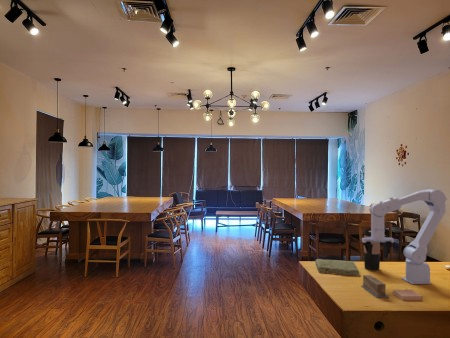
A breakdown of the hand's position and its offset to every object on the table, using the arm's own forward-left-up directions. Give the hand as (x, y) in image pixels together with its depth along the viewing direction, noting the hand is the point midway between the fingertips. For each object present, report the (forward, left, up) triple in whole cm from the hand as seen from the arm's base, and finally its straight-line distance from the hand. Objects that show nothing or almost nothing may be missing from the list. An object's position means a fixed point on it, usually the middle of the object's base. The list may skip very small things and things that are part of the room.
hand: (377, 257), depth 153 cm
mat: (+10, +15, -10) cm, 21 cm away
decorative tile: (+13, -17, -11) cm, 24 cm away
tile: (-1, +18, -10) cm, 20 cm away
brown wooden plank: (+10, +15, -10) cm, 20 cm away
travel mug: (-6, -17, -11) cm, 21 cm away
